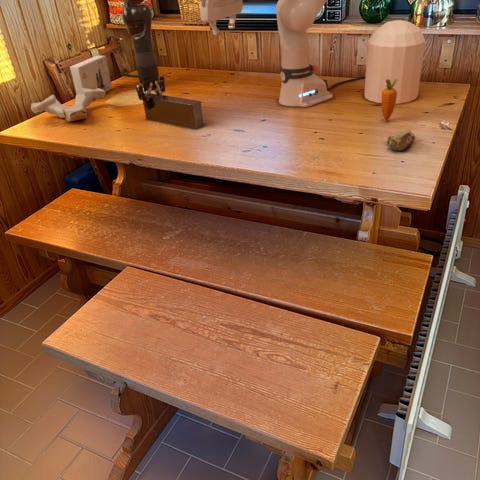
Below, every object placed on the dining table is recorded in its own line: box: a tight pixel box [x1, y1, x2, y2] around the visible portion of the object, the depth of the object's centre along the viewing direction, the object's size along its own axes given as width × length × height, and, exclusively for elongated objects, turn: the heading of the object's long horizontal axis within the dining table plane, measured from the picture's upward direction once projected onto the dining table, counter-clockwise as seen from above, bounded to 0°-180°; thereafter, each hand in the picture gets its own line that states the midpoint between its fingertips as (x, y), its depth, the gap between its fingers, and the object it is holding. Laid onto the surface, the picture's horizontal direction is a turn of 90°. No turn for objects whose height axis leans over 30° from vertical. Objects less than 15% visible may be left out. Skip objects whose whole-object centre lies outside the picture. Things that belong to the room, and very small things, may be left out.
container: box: [363, 19, 426, 105], centre depth 179 cm, size 21×21×28 cm
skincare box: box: [69, 54, 113, 95], centre depth 218 cm, size 21×6×16 cm, turn 158°
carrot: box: [380, 79, 397, 122], centre depth 161 cm, size 5×5×15 cm
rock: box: [387, 129, 416, 152], centre depth 146 cm, size 11×6×10 cm
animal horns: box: [30, 88, 107, 123], centre depth 195 cm, size 28×26×12 cm
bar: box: [142, 92, 205, 130], centre depth 180 cm, size 27×5×9 cm, turn 54°
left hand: (154, 106), depth 185 cm, fingers open, 6 cm apart
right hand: (224, 31), depth 165 cm, fingers open, 8 cm apart
